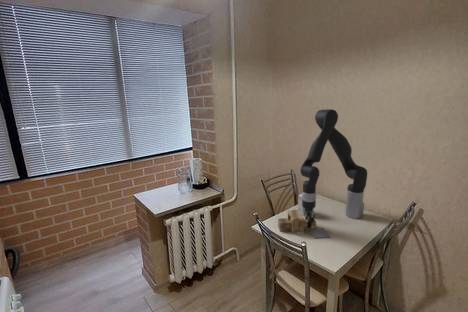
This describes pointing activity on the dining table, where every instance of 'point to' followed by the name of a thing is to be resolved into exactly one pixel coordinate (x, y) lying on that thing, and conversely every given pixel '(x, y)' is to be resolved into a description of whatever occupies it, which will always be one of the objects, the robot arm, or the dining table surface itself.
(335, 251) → the dining table surface
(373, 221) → the dining table surface
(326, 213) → the dining table surface
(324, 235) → the slate coaster
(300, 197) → the small box
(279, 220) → the walnut block
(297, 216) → the oak bridge
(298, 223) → the beech rod
